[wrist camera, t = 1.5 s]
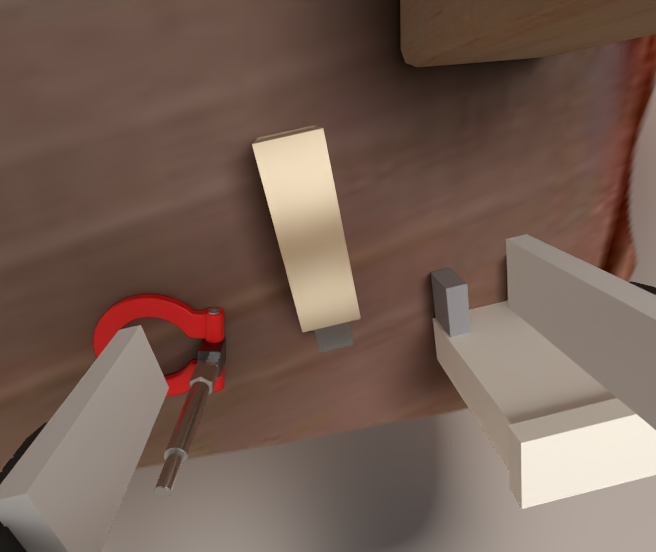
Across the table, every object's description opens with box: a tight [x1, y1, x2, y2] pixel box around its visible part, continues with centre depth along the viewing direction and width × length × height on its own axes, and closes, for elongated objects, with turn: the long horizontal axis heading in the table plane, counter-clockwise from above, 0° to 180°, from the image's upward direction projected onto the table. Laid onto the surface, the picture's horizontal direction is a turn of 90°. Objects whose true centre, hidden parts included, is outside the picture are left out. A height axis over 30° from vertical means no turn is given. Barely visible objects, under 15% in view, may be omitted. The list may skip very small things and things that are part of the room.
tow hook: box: [93, 294, 226, 498], centre depth 24 cm, size 8×13×9 cm
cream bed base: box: [431, 268, 656, 509], centre depth 26 cm, size 8×9×13 cm
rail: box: [252, 125, 361, 352], centre depth 25 cm, size 14×4×6 cm, turn 12°
